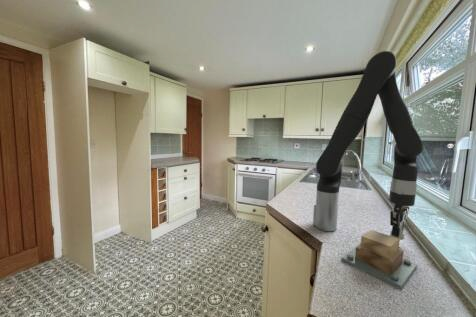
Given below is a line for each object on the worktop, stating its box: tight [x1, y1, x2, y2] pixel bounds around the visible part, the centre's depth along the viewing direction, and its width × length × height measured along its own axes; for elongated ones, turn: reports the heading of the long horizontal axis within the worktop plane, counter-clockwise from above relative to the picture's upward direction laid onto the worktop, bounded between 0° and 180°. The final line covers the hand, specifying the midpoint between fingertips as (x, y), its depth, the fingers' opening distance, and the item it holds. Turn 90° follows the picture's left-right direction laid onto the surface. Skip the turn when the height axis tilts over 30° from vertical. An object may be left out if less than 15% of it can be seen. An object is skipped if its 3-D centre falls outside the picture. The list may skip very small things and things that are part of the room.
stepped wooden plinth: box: [355, 229, 404, 275], centre depth 65 cm, size 10×10×8 cm
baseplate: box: [340, 247, 418, 290], centre depth 65 cm, size 16×16×2 cm
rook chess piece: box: [389, 218, 405, 241], centre depth 77 cm, size 4×4×8 cm
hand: (397, 234), depth 77 cm, fingers closed on rook chess piece, 4 cm apart
